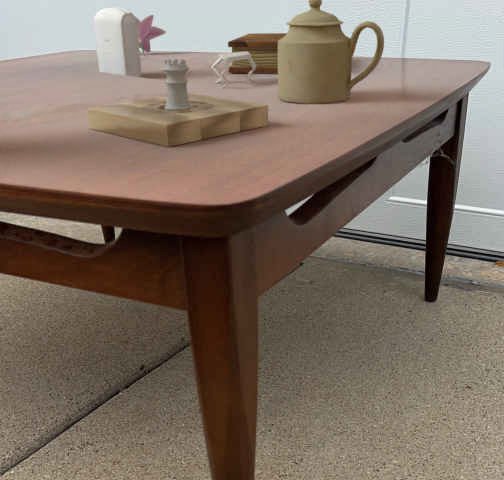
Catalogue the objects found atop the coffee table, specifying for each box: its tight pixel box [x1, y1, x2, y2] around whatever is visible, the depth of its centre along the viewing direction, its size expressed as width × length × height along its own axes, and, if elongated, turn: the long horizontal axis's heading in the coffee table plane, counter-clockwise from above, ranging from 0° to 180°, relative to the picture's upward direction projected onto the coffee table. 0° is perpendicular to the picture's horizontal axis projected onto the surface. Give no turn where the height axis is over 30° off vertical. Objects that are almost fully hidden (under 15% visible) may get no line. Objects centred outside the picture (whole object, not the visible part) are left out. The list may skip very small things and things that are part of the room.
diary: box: [227, 32, 287, 74], centre depth 141 cm, size 23×19×6 cm
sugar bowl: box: [277, 0, 385, 105], centre depth 102 cm, size 15×11×15 cm
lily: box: [135, 14, 167, 54], centre depth 166 cm, size 12×12×10 cm
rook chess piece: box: [162, 58, 192, 110], centre depth 85 cm, size 4×4×8 cm
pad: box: [87, 92, 269, 148], centre depth 87 cm, size 16×16×2 cm
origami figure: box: [210, 51, 257, 89], centre depth 119 cm, size 12×8×5 cm
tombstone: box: [93, 6, 142, 78], centre depth 129 cm, size 10×4×12 cm, turn 44°
